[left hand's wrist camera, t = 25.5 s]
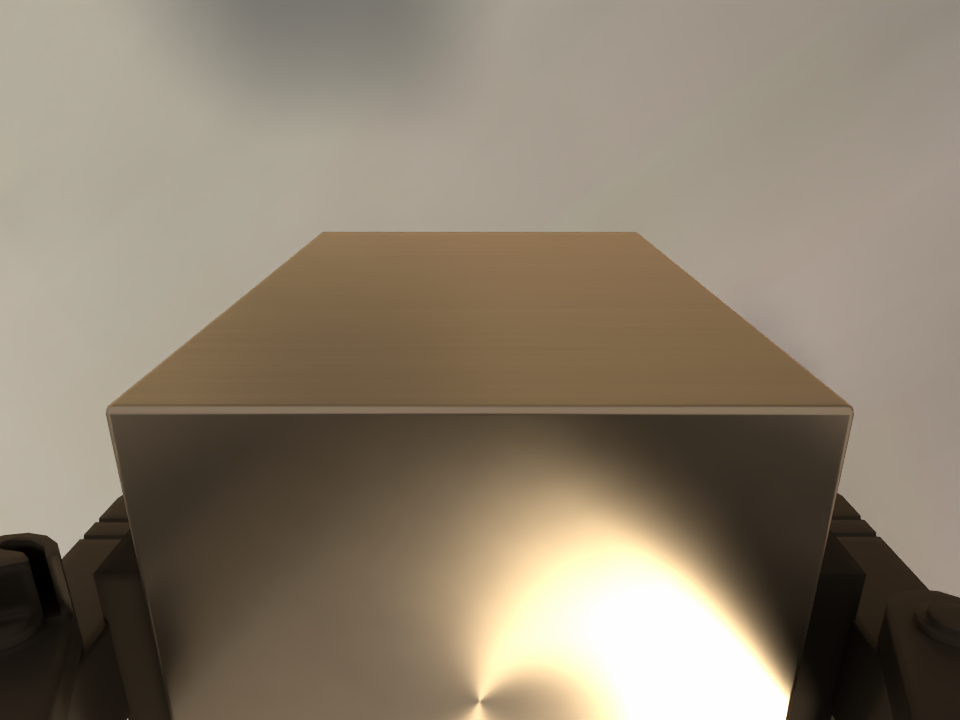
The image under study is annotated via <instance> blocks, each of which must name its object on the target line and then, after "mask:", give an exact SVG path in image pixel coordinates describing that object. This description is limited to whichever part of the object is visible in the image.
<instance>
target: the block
mask: <svg viewBox="0 0 960 720" xmlns="http://www.w3.org/2000/svg"><path fill="white" fill-rule="evenodd" d="M106 416H107V421H108V426H109V430H110V435H111V440H112V445H113V449H114V454H115V459H116V463H117V468H118V473H119V477H120V482H121V487H122V492H123V496H124V501H125V506H126V510H127V515H128V520H129V525H130V529H131V534H132V539H133V543H134V548H135V553H136V557H137V562H138V567H139V572H140V576H141V581H142V586H143V590H144V595H145V600H146V604H147V609H148V614H149V619H150V623H151V628H152V633H153V637H154V642H155V647H156V652H157V656H158V661H159V666H160V670H161V675H162V680H163V684H164V689H165V694H166V699H167V703H168V708H169V713H170V717H171V720H788V719H789V715H790V710H791V705H792V701H793V696H794V691H795V687H796V682H797V677H798V673H799V668H800V663H801V659H802V654H803V649H804V645H805V640H806V635H807V631H808V626H809V621H810V617H811V612H812V607H813V603H814V598H815V593H816V589H817V584H818V579H819V575H820V570H821V565H822V561H823V556H824V551H825V547H826V542H827V537H828V533H829V528H830V523H831V519H832V514H833V509H834V505H835V500H836V495H837V491H838V486H839V481H840V477H841V472H842V467H843V463H844V458H845V453H846V449H847V444H848V439H849V435H850V430H851V425H852V421H853V416H854V412H853V408H852V406H851V405H850V404H848V403H847V402H846V401H845V400H843V399H842V398H841V397H840V396H838V395H837V394H836V393H835V392H833V391H832V390H831V389H830V388H829V387H827V386H826V385H825V384H824V383H822V382H821V381H820V380H819V379H817V378H816V377H815V376H814V375H812V374H811V373H810V372H809V371H808V370H806V369H805V368H804V367H803V366H801V365H800V364H799V363H798V362H796V361H795V360H794V359H793V358H791V357H790V356H789V355H788V354H787V353H785V352H784V351H783V350H782V349H780V348H779V347H778V346H777V345H775V344H774V343H773V342H772V341H770V340H769V339H768V338H767V337H766V336H764V335H763V334H762V333H761V332H759V331H758V330H757V329H756V328H754V327H753V326H752V325H751V324H749V323H748V322H747V321H746V320H745V319H743V318H742V317H741V316H740V315H738V314H737V313H736V312H735V311H733V310H732V309H731V308H730V307H728V306H727V305H726V304H725V303H723V302H722V301H721V300H720V299H719V298H717V297H716V296H715V295H714V294H712V293H711V292H710V291H709V290H707V289H706V288H705V287H704V286H702V285H701V284H700V283H699V282H698V281H696V280H695V279H694V278H693V277H691V276H690V275H689V274H688V273H686V272H685V271H684V270H683V269H681V268H680V267H679V266H678V265H677V264H675V263H674V262H673V261H672V260H670V259H669V258H668V257H667V256H665V255H664V254H663V253H662V252H660V251H659V250H658V249H657V248H656V247H654V246H653V245H652V244H651V243H649V242H648V241H647V240H646V239H644V238H643V237H642V236H641V235H639V234H638V233H636V232H323V233H321V234H320V235H319V236H317V237H316V238H315V239H314V240H312V241H311V242H310V243H309V244H307V245H306V246H305V247H304V248H302V249H301V250H300V251H299V252H298V253H296V254H295V255H294V256H293V257H291V258H290V259H289V260H288V261H286V262H285V263H284V264H283V265H282V266H280V267H279V268H278V269H277V270H275V271H274V272H273V273H272V274H270V275H269V276H268V277H267V278H265V279H264V280H263V281H262V282H261V283H259V284H258V285H257V286H256V287H254V288H253V289H252V290H251V291H249V292H248V293H247V294H246V295H244V296H243V297H242V298H241V299H240V300H238V301H237V302H236V303H235V304H233V305H232V306H231V307H230V308H228V309H227V310H226V311H225V312H224V313H222V314H221V315H220V316H219V317H217V318H216V319H215V320H214V321H212V322H211V323H210V324H209V325H207V326H206V327H205V328H204V329H203V330H201V331H200V332H199V333H198V334H196V335H195V336H194V337H193V338H191V339H190V340H189V341H188V342H186V343H185V344H184V345H183V346H182V347H180V348H179V349H178V350H177V351H175V352H174V353H173V354H172V355H170V356H169V357H168V358H167V359H166V360H164V361H163V362H162V363H161V364H159V365H158V366H157V367H156V368H154V369H153V370H152V371H151V372H149V373H148V374H147V375H146V376H145V377H143V378H142V379H141V380H140V381H138V382H137V383H136V384H135V385H133V386H132V387H131V388H130V389H128V390H127V391H126V392H125V393H124V394H122V395H121V396H120V397H119V398H117V399H116V400H115V401H114V402H112V403H111V404H110V405H109V406H108V407H107V411H106Z"/></svg>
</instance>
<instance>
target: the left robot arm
mask: <svg viewBox="0 0 960 720" xmlns="http://www.w3.org/2000/svg"><path fill="white" fill-rule="evenodd" d="M832 716H833V717H834V719H835V720H960V598H959V597H956V596H952V595H949V594H946V593H942V592H939V591H930V590H929V589H928V588H927V587H926V586H925V585H924V584H923V583H922V582H921V581H920V580H919V579H918V577H917V576H916V575H915V574H914V573H913V572H912V571H911V570H910V569H909V568H908V567H907V566H906V564H905V563H904V562H903V561H902V560H901V559H900V558H899V557H898V556H897V555H896V554H895V553H894V552H893V550H892V549H891V548H890V547H889V546H888V545H887V544H886V543H885V542H884V541H883V540H882V539H881V537H876V532H875V531H874V530H873V529H872V528H871V527H870V526H869V524H868V523H867V522H866V521H865V520H861V516H860V515H859V514H858V513H857V511H856V510H855V509H854V508H853V507H852V506H851V505H850V504H849V503H848V502H847V501H846V500H845V498H844V497H843V496H841V495H840V494H838V493H837V495H836V500H835V505H834V509H833V514H832V519H831V523H830V528H829V533H828V537H827V542H826V547H825V551H824V556H823V561H822V565H821V570H820V575H819V579H818V584H817V589H816V593H815V598H814V603H813V607H812V612H811V617H810V621H809V626H808V631H807V635H806V640H805V645H804V649H803V654H802V659H801V663H800V668H799V673H798V677H797V682H796V687H795V691H794V696H793V701H792V705H791V710H790V715H789V719H788V720H831V718H832ZM127 718H128V720H171V717H170V713H169V708H168V703H167V699H166V694H165V689H164V684H163V680H162V675H161V670H160V666H159V661H158V656H157V652H156V647H155V642H154V637H153V633H152V628H151V623H150V619H149V614H148V609H147V604H146V600H145V595H144V590H143V586H142V581H141V576H140V572H139V567H138V562H137V557H136V553H135V548H134V543H133V539H132V534H131V529H130V525H129V520H128V515H127V510H126V506H125V501H124V496H123V495H122V496H121V497H119V498H118V499H117V500H116V501H115V502H114V503H113V504H112V505H111V506H110V507H109V508H108V509H107V511H106V512H105V513H104V514H103V515H102V516H101V517H100V518H99V522H96V523H95V524H94V525H93V526H92V527H91V528H90V529H89V530H88V531H87V532H86V533H85V535H84V539H80V540H79V541H78V542H77V543H76V544H75V545H74V547H73V548H72V549H71V550H70V551H69V552H68V553H67V554H66V555H65V556H64V557H63V559H61V556H60V552H59V548H58V544H57V543H56V542H55V541H53V540H52V539H51V538H49V537H48V536H45V535H38V534H32V533H23V534H12V535H3V536H0V720H127Z"/></svg>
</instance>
